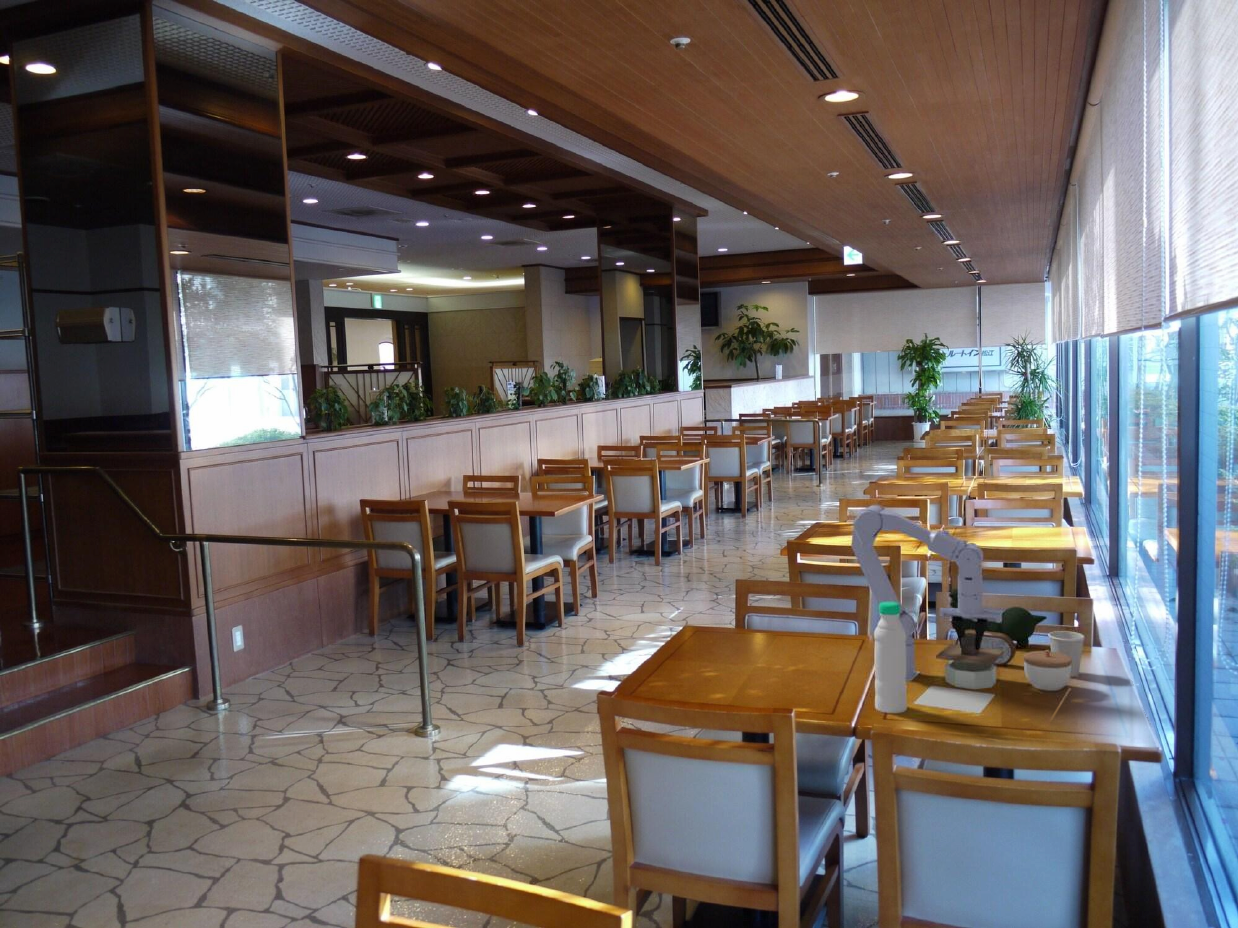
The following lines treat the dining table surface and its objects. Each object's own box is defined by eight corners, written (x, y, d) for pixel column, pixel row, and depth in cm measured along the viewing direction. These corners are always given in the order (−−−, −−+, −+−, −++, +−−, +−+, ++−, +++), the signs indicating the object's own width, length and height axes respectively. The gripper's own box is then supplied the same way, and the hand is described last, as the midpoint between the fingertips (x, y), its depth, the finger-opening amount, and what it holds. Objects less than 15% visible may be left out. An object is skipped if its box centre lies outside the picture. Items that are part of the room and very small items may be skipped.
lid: (936, 658, 242) (936, 639, 241) (950, 646, 252) (950, 628, 252) (991, 665, 234) (991, 645, 234) (1003, 653, 245) (1003, 634, 245)
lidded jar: (1076, 696, 232) (1076, 657, 231) (1028, 694, 234) (1028, 656, 233) (1065, 682, 243) (1065, 644, 242) (1019, 680, 245) (1019, 643, 244)
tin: (1016, 665, 258) (1016, 633, 257) (1013, 668, 255) (1013, 636, 255) (957, 658, 266) (956, 627, 265) (954, 661, 263) (953, 630, 263)
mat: (913, 705, 230) (913, 703, 230) (931, 687, 242) (931, 685, 242) (979, 715, 222) (979, 713, 222) (995, 695, 234) (995, 694, 234)
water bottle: (901, 716, 222) (900, 607, 220) (870, 712, 226) (869, 604, 224) (910, 707, 228) (909, 601, 226) (880, 703, 232) (878, 598, 230)
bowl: (941, 686, 243) (941, 668, 242) (953, 674, 252) (953, 656, 252) (988, 692, 237) (988, 674, 236) (999, 679, 246) (999, 662, 246)
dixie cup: (1064, 667, 254) (1064, 629, 254) (1092, 675, 247) (1092, 636, 246) (1040, 672, 251) (1040, 633, 250) (1068, 680, 243) (1068, 641, 243)
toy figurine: (952, 651, 278) (1048, 651, 267) (945, 585, 277) (1041, 582, 266) (957, 643, 286) (1050, 642, 275) (950, 578, 286) (1043, 575, 274)
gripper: (935, 594, 243) (936, 648, 244) (997, 599, 235) (997, 655, 236) (943, 588, 249) (943, 641, 250) (1003, 593, 241) (1004, 648, 242)
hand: (970, 647), depth 244 cm, fingers closed on lid, 3 cm apart
